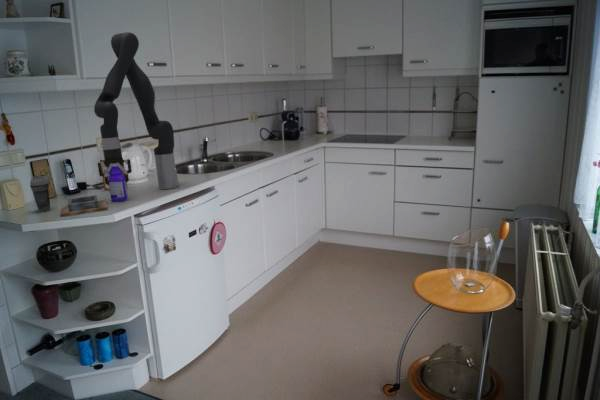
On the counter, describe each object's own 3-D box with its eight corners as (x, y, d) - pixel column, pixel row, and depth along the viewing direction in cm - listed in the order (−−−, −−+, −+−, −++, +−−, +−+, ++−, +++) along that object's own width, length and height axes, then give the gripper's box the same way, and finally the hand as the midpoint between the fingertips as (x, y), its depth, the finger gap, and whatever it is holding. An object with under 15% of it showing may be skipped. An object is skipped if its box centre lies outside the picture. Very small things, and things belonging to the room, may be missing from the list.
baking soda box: (104, 190, 244) (99, 159, 240) (115, 187, 249) (110, 156, 245) (116, 191, 239) (111, 159, 235) (127, 188, 244) (122, 157, 240)
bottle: (129, 198, 222) (124, 161, 217) (126, 201, 216) (120, 163, 212) (114, 199, 222) (108, 162, 217) (109, 202, 216) (103, 164, 212)
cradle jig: (105, 202, 217) (104, 193, 216) (107, 209, 203) (106, 200, 202) (62, 208, 211) (60, 199, 210) (60, 216, 196) (58, 207, 195)
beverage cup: (44, 208, 213) (35, 163, 208) (57, 208, 211) (49, 163, 206) (31, 212, 207) (21, 166, 202) (44, 213, 204) (35, 166, 199)
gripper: (127, 144, 219) (133, 180, 223) (94, 148, 213) (100, 184, 217) (129, 146, 212) (134, 182, 216) (94, 150, 207) (100, 187, 211)
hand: (117, 183), depth 217 cm, fingers closed on bottle, 7 cm apart
